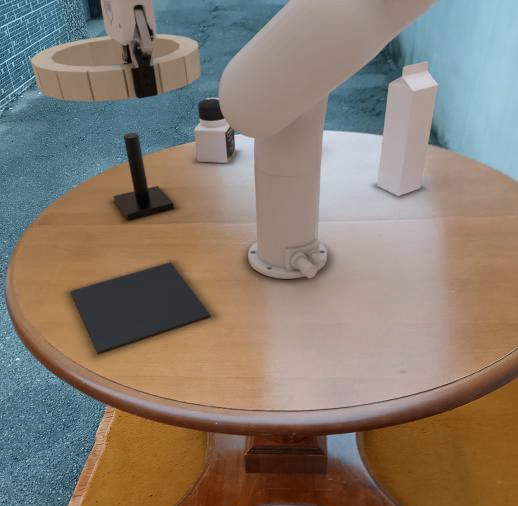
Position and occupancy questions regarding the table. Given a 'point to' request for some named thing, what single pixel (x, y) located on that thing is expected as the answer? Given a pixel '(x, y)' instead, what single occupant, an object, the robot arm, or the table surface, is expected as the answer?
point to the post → (140, 186)
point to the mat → (137, 306)
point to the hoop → (112, 68)
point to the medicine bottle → (213, 134)
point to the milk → (407, 129)
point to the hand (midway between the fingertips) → (143, 92)
